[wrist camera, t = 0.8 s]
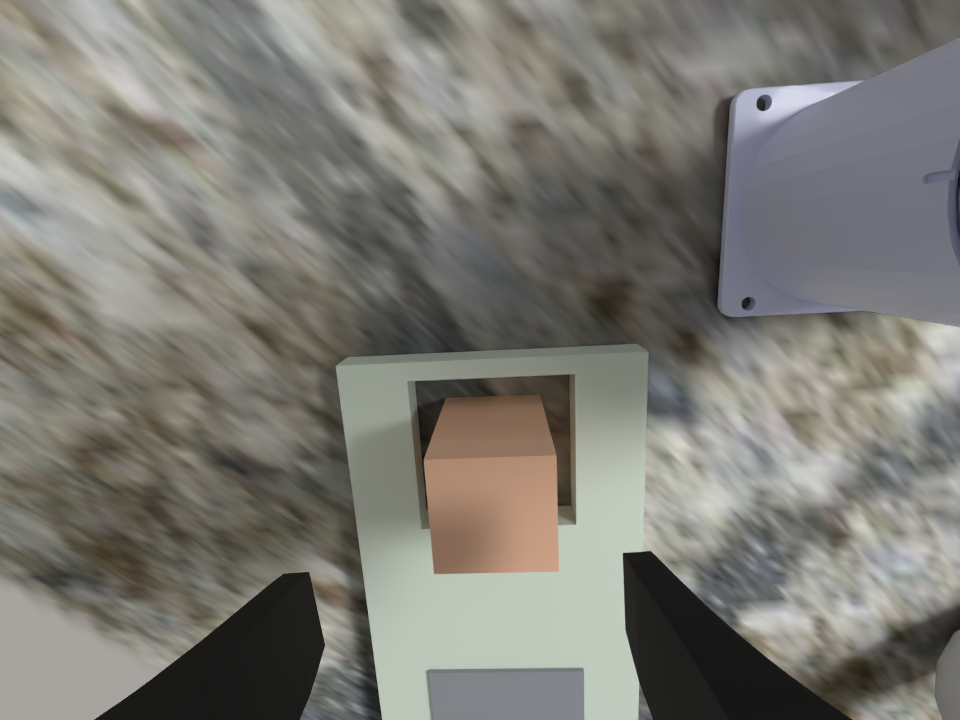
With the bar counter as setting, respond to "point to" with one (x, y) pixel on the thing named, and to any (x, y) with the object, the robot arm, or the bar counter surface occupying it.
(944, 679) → the donut
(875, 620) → the bar counter surface
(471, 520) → the terracotta block
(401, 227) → the bar counter surface
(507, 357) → the pocket board
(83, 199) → the bar counter surface
